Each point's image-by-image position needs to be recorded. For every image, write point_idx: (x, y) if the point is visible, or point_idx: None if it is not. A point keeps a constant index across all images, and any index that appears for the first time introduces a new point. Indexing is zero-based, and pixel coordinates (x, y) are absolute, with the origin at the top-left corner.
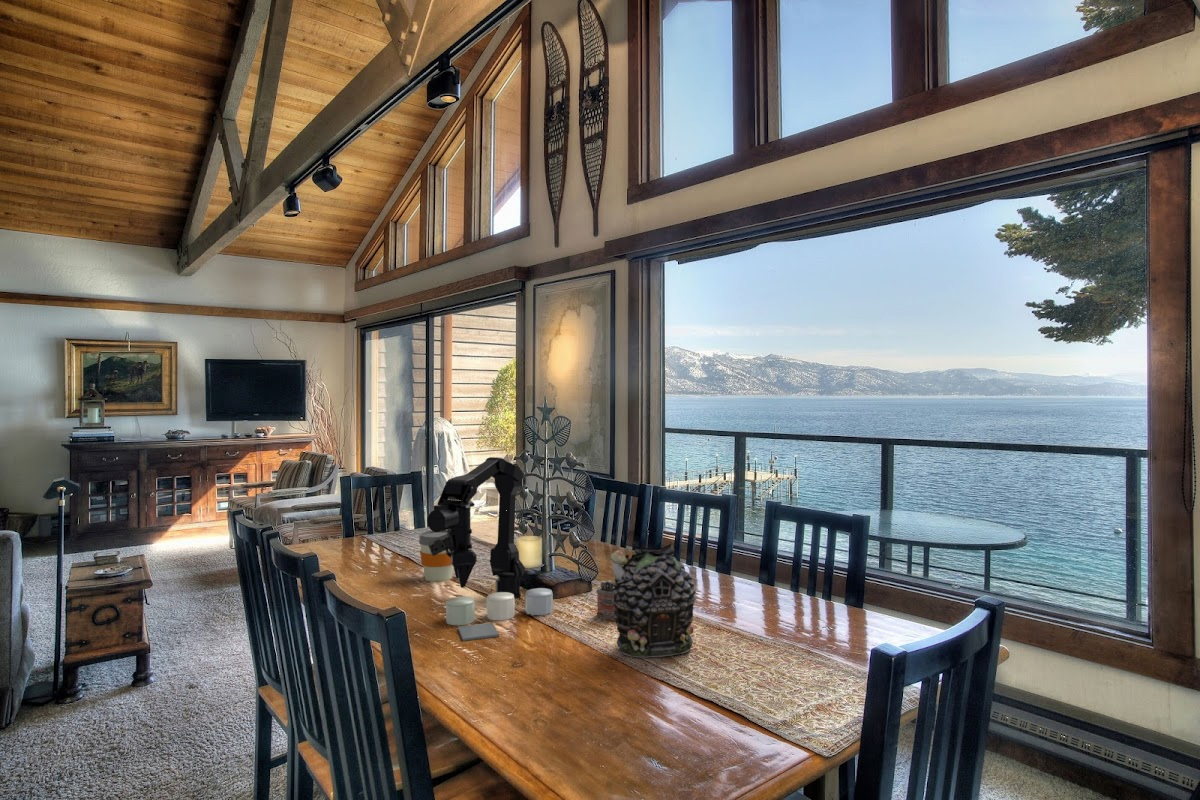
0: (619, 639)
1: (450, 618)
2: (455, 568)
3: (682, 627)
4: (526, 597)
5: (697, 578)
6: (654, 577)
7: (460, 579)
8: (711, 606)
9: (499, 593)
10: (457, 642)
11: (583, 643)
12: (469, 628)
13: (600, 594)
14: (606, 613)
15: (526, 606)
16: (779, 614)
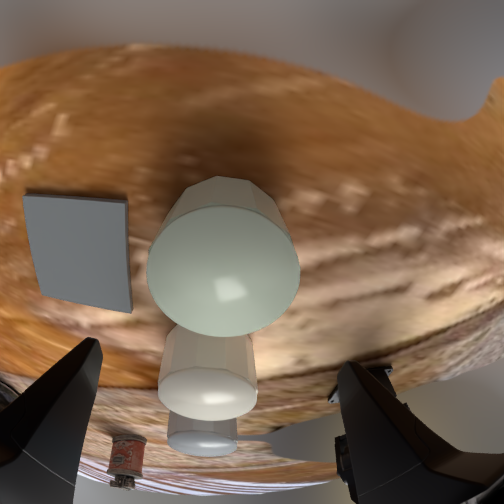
0: (2, 395)
1: (189, 192)
2: (376, 417)
3: None
4: (200, 425)
5: (245, 489)
6: None
7: (47, 378)
8: (145, 475)
9: (240, 403)
10: (23, 175)
11: (23, 375)
12: (95, 237)
13: (126, 468)
14: (122, 442)
15: None
16: (112, 476)
